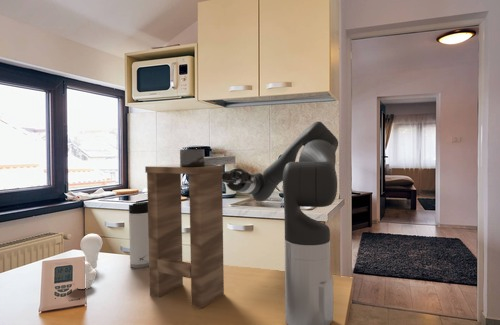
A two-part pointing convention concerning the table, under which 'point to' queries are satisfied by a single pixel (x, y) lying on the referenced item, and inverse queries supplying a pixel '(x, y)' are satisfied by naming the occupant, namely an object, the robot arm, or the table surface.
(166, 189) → the shelf
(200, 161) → the steel link
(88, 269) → the white ridged dome
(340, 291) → the table surface
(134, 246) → the travel mug
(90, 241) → the lightbulb
